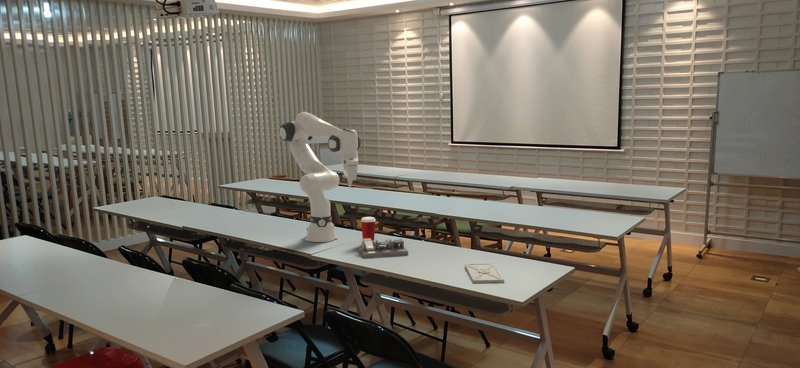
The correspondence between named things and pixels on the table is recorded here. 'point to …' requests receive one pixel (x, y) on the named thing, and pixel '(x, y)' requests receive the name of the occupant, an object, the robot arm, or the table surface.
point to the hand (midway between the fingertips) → (349, 186)
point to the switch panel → (384, 250)
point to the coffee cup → (368, 227)
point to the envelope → (483, 273)
